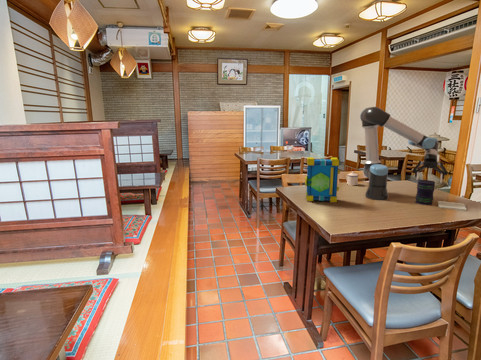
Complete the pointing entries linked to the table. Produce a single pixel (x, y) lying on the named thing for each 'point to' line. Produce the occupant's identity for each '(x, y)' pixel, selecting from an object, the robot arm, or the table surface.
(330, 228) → the table surface
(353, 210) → the table surface
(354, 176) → the teacup with lid
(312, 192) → the decorative book
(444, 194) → the table surface
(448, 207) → the placemat
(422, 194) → the rusty oil drum
